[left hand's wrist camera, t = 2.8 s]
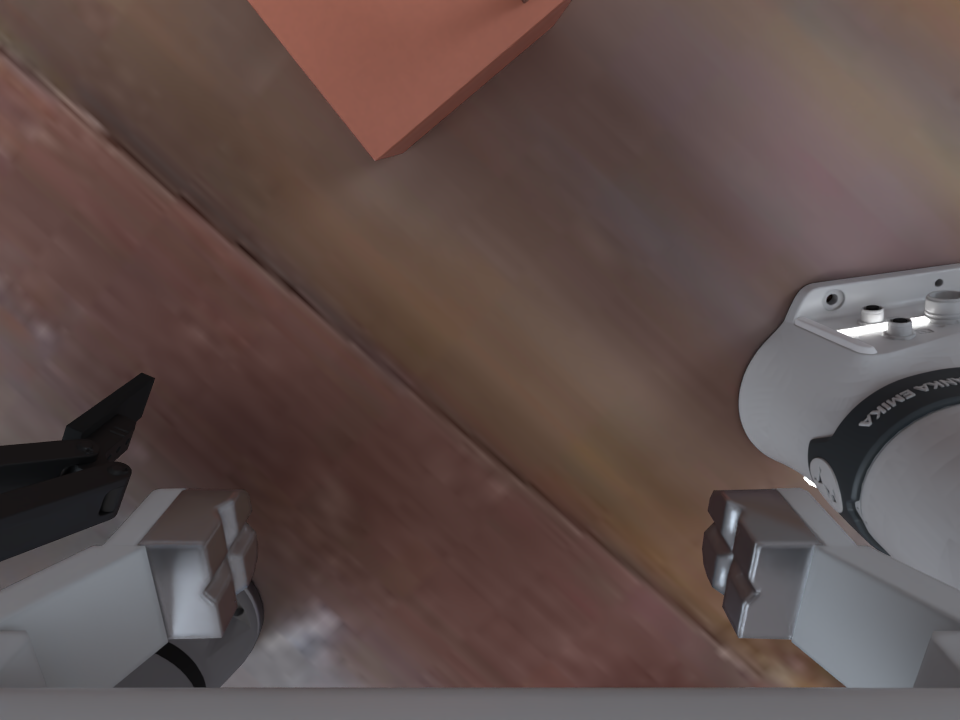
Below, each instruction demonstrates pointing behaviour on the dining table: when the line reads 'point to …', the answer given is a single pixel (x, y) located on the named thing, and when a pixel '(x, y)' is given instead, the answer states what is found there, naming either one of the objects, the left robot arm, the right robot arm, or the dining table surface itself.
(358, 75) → the lid
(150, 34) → the dining table surface
